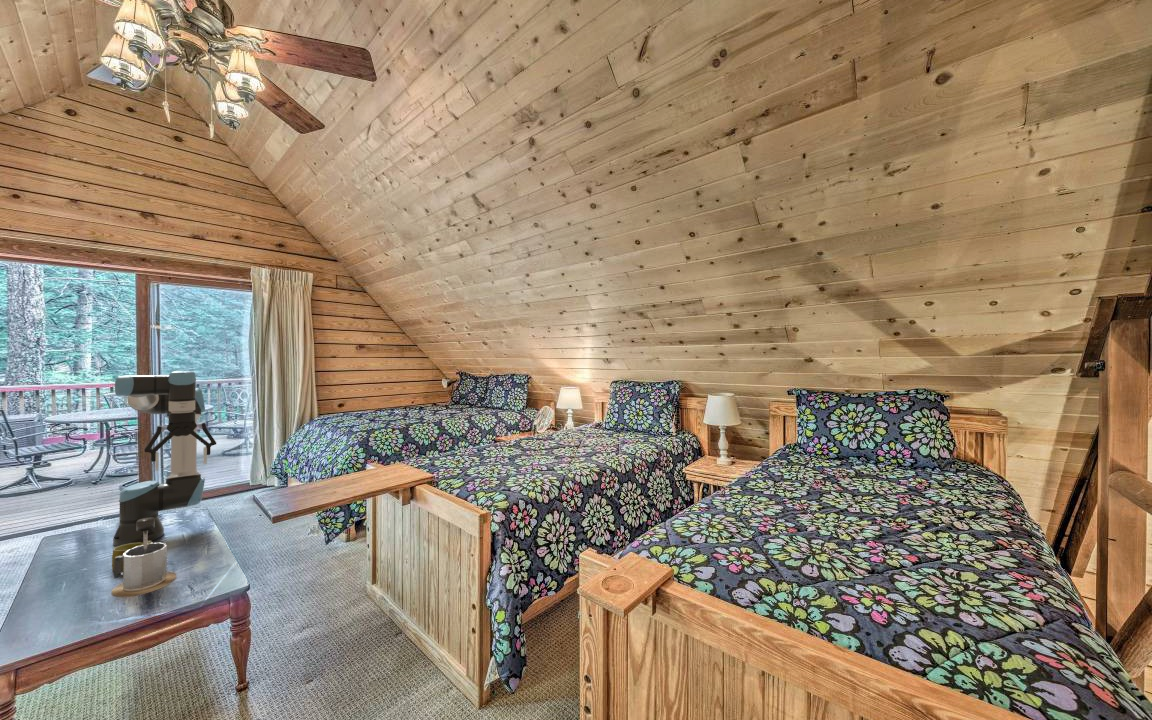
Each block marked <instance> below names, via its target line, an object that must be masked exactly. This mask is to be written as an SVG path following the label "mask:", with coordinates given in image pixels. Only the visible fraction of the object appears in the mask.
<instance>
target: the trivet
mask: <svg viewBox="0 0 1152 720" xmlns="http://www.w3.org/2000/svg"><path fill="white" fill-rule="evenodd" d="M177 577H178V575H177V573H176V572H173V571H167V576H166V580H165V581H164V582H163V583H161V584H160V585H158V586H155V587H153V588H150V589H147V590H143V591H138V592H124V591H123V582H121V583H120V584H118V585H116V586H115V587H114V588H113V589H112V590H111V591H110V594H111V595H112V596H113V597H116V598H129V597H136V596H141V595H145V594H148V593H152V592H155V591H157V590H159V589H162V588H164V587H166V586H168V585H170V584H172V582H174V581H175V580H176V578H177Z"/></svg>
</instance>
